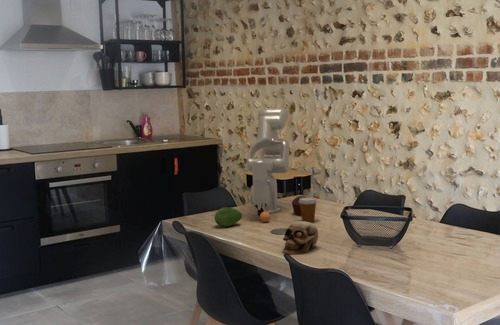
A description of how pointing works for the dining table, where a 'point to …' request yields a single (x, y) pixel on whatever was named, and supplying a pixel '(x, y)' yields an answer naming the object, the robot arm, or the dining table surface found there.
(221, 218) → the fruit
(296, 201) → the muffin
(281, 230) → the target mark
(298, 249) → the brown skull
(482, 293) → the dining table surface
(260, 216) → the ball
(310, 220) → the disposable coffee cup
